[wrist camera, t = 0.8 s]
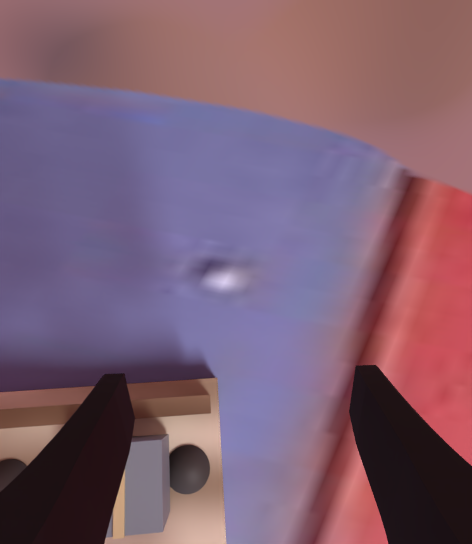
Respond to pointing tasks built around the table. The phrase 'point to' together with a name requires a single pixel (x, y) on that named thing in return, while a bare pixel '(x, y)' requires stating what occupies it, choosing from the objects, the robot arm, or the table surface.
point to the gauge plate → (148, 421)
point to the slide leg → (143, 489)
